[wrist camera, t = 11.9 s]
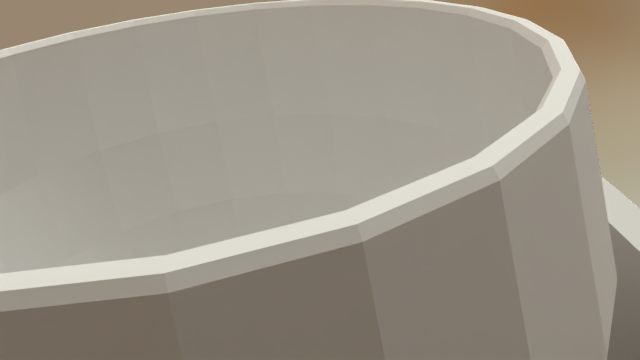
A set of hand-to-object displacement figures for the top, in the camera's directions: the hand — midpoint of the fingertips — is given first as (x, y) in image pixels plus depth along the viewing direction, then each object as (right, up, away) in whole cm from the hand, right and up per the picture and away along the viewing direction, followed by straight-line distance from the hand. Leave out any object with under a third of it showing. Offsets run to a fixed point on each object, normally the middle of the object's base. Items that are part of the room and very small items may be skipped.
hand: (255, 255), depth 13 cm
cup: (+1, -10, +2) cm, 11 cm away
